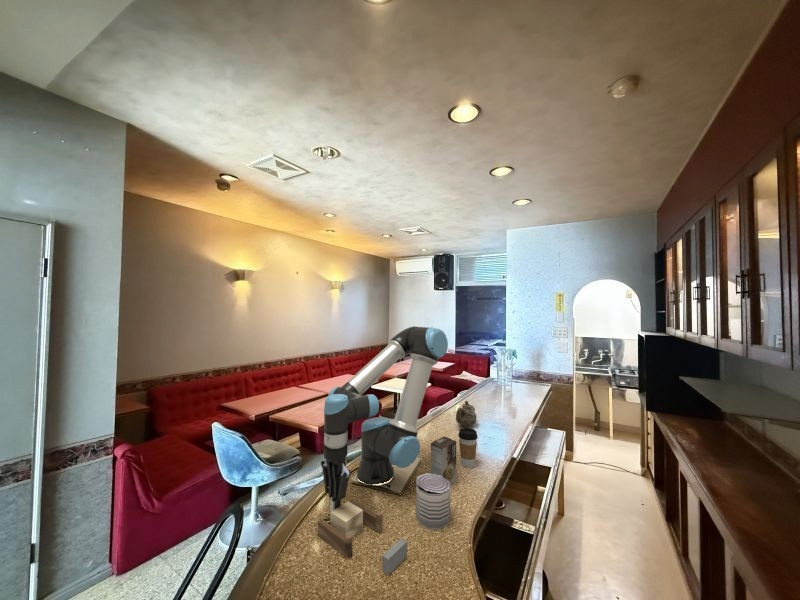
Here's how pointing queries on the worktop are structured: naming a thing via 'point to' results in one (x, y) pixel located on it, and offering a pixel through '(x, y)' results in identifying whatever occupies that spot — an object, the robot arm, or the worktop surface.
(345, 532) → the block
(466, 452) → the coffee cup
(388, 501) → the worktop surface
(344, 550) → the chute
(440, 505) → the can
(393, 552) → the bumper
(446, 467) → the coffee box
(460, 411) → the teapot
